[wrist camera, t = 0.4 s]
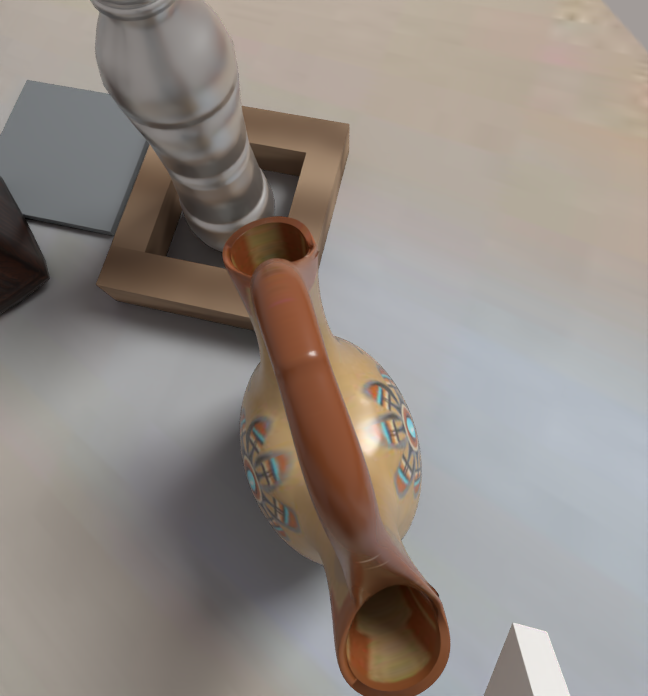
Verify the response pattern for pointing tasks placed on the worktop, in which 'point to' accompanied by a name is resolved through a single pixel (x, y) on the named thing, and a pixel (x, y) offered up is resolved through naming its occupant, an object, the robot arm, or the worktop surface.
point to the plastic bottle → (185, 107)
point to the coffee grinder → (17, 254)
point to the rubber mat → (70, 157)
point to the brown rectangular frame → (164, 211)
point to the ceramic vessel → (335, 464)
